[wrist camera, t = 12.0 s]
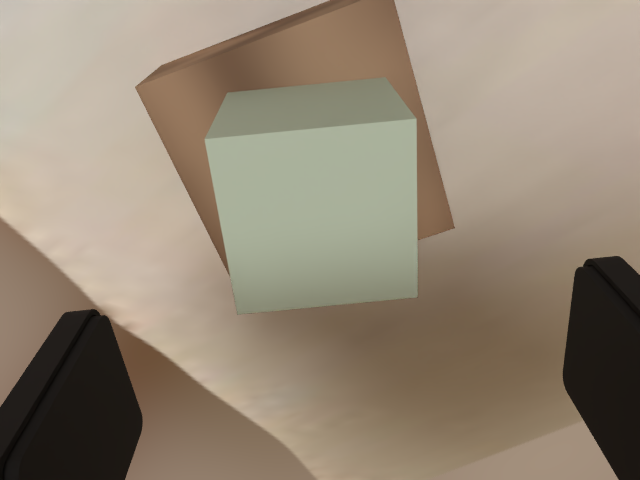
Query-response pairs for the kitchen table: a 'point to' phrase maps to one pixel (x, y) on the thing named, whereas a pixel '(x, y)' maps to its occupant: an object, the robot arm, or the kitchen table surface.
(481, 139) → the kitchen table surface
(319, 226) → the green cube
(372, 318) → the kitchen table surface
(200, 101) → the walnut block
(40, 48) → the kitchen table surface
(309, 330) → the kitchen table surface
